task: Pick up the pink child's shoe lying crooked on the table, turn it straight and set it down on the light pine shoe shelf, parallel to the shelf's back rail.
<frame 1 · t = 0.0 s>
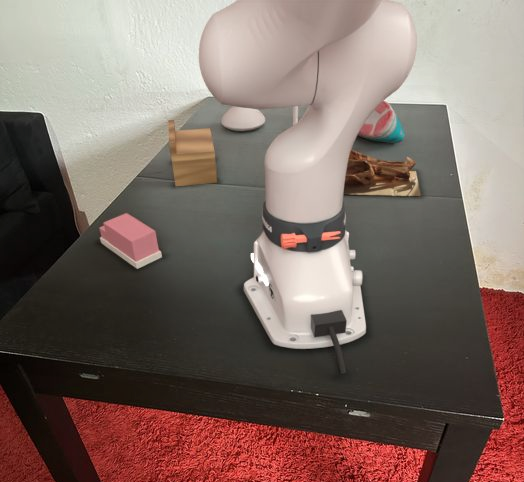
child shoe: (131, 250, 94), on the table
champagne flute: (295, 143, 128), on the table
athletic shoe: (359, 133, 132), on the table
shoe shelf: (195, 171, 118), on the table
driftwood on gold plate: (351, 181, 112), on the table
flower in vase: (243, 126, 138), on the table
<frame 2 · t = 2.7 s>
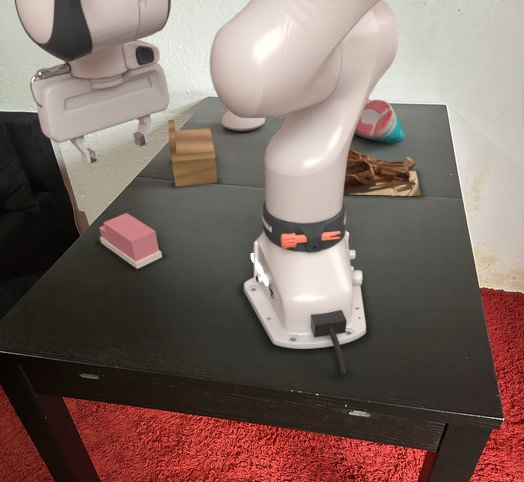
hand: (116, 153, 83), 17 cm above the table, tool pointing down, fingers open, 8 cm apart
nothing on the table moved.
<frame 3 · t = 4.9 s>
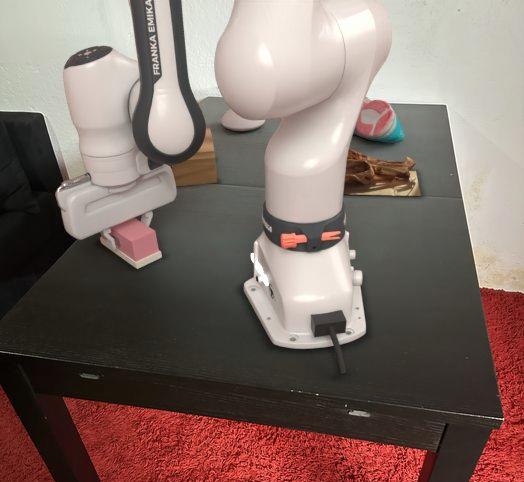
hand: (130, 240, 93), 2 cm above the table, tool pointing down, fingers closed on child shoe, 5 cm apart
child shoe: (131, 250, 94), on the table, touching gripper
everything else where it was.
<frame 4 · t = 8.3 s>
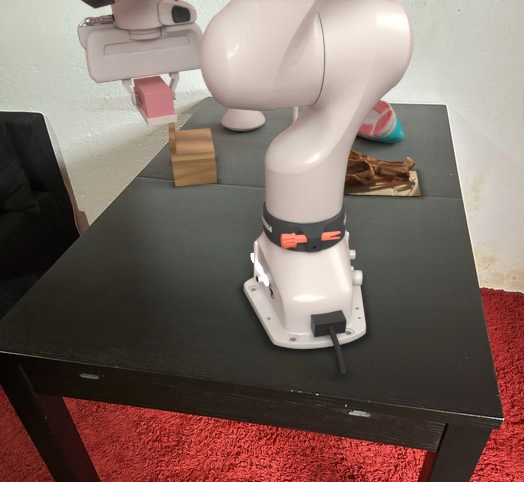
hand: (154, 101, 94), 20 cm above the table, tool pointing down, fingers closed on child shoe, 5 cm apart
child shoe: (155, 113, 96), point 17 cm above the table, touching gripper
everything else where it was.
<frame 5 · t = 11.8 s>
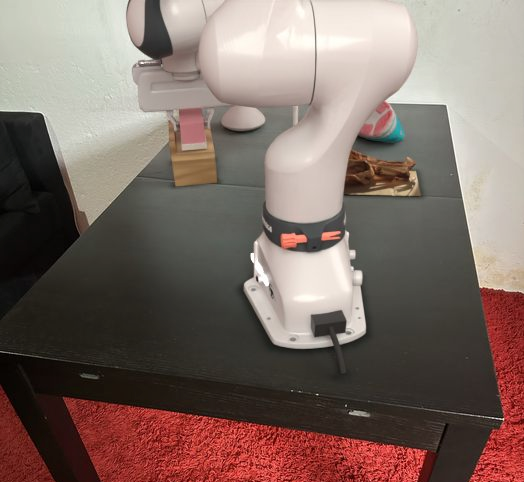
hand: (192, 129, 111), 9 cm above the table, tool pointing down, fingers closed on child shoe, 5 cm apart
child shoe: (193, 138, 113), point 7 cm above the table, touching gripper
everything else where it was.
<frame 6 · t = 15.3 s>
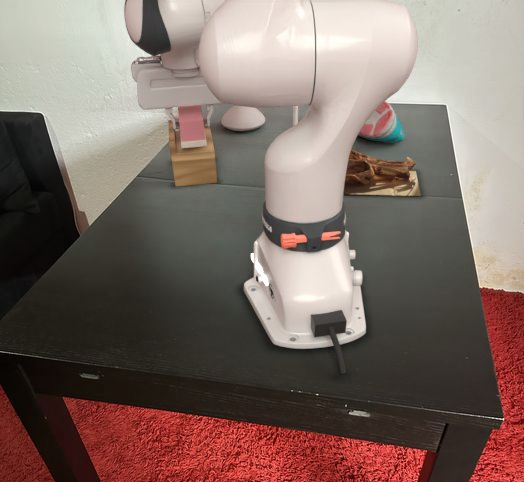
hand: (192, 127, 110), 10 cm above the table, tool pointing down, fingers closed on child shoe, 5 cm apart
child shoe: (192, 136, 112), point 8 cm above the table, touching gripper
everything else where it was.
when the fingers open (10 cm above the table, at t = 18.6 s): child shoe drops 1 cm, resting on shoe shelf.
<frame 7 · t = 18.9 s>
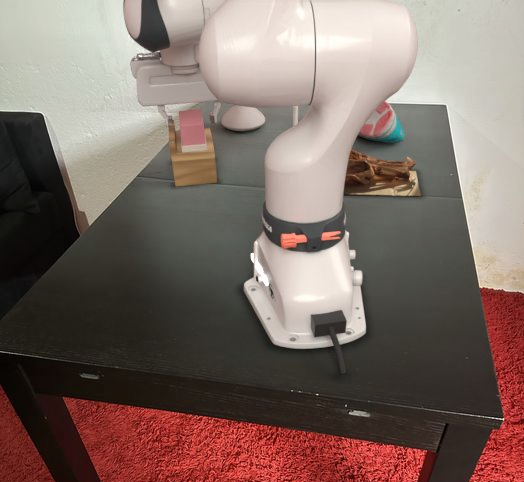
hand: (191, 124, 110), 11 cm above the table, tool pointing down, fingers open, 8 cm apart
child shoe: (193, 140, 113), point 7 cm above the table, touching shoe shelf
everything else where it was.
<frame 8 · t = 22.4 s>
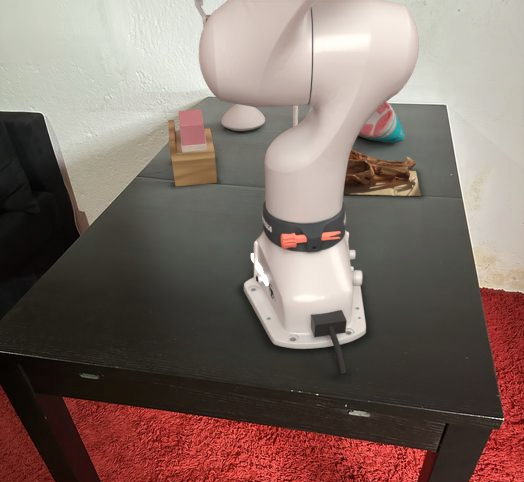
hand: (233, 25, 94), 29 cm above the table, tool pointing down, fingers open, 8 cm apart
nothing on the table moved.
at the end: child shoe 0.0 cm off-centre on the shoe shelf, point 7.0 cm above the shoe shelf's base; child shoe tilted 0° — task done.
